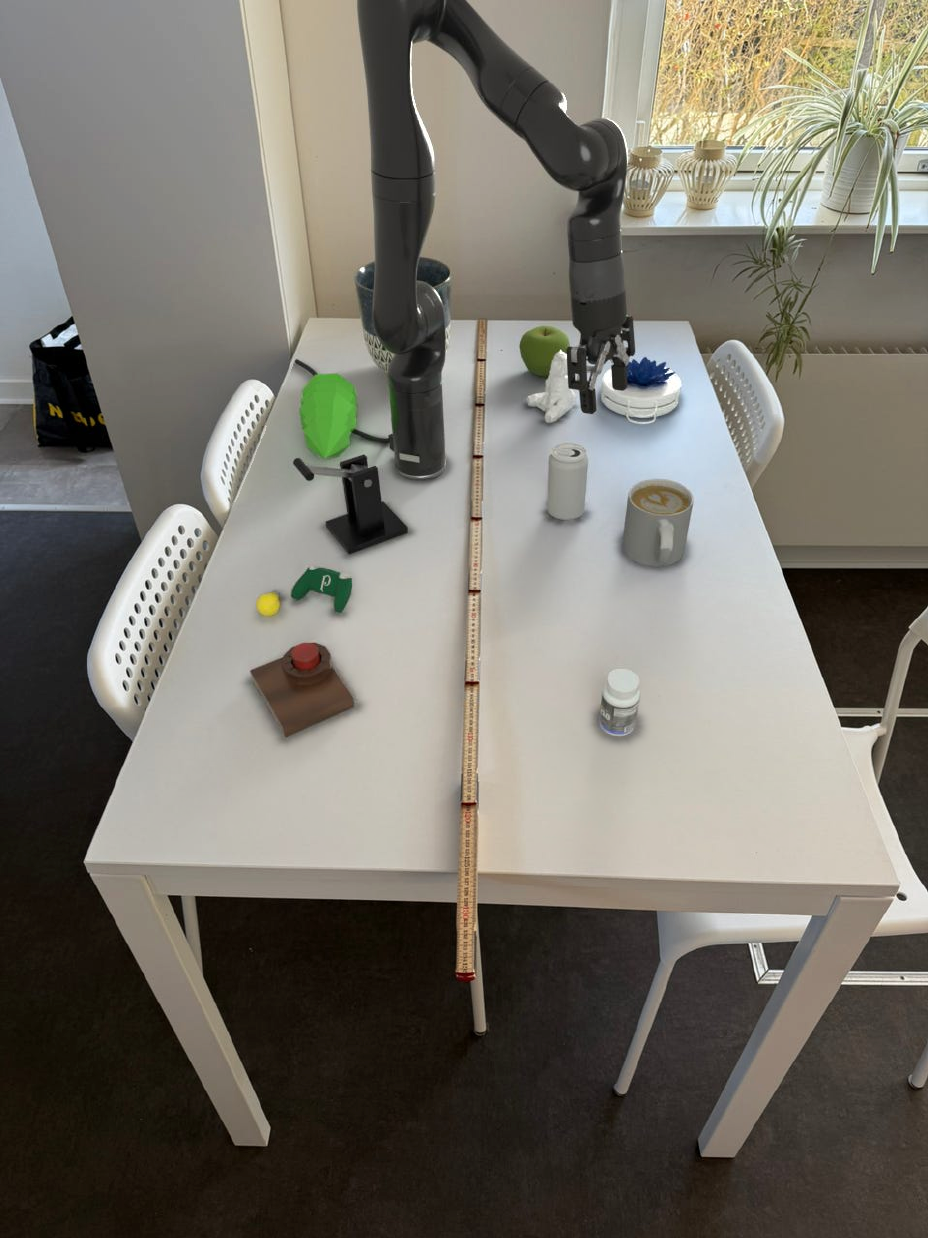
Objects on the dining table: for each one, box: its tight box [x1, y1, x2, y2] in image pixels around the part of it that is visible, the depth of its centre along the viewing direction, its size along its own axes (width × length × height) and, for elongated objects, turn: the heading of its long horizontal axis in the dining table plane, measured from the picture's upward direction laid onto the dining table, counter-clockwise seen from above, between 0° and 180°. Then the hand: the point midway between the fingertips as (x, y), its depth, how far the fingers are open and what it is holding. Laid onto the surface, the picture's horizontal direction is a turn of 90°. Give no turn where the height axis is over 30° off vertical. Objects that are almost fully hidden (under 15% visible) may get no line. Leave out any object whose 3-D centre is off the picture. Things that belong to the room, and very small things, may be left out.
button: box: [291, 642, 320, 670], centre depth 117 cm, size 4×4×2 cm
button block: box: [249, 642, 355, 738], centre depth 117 cm, size 12×10×4 cm
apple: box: [519, 325, 571, 378], centre depth 182 cm, size 11×10×10 cm
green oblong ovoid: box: [298, 372, 358, 460], centre depth 162 cm, size 11×12×30 cm
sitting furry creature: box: [526, 350, 577, 424], centre depth 169 cm, size 10×9×12 cm
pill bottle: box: [598, 668, 641, 737], centre depth 110 cm, size 5×5×8 cm
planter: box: [353, 256, 453, 374], centre depth 179 cm, size 20×20×21 cm
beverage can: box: [546, 442, 589, 521], centre depth 143 cm, size 6×6×12 cm
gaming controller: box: [290, 563, 353, 614], centre depth 132 cm, size 9×4×6 cm
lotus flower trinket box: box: [600, 356, 682, 425], centre depth 172 cm, size 7×16×20 cm
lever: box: [292, 457, 369, 482], centre depth 135 cm, size 12×5×2 cm, turn 121°
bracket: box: [325, 454, 409, 555], centre depth 141 cm, size 11×9×13 cm
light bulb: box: [255, 589, 281, 617], centre depth 130 cm, size 3×6×4 cm, turn 175°
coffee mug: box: [621, 478, 694, 568], centre depth 135 cm, size 13×10×10 cm
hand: (604, 400), depth 127 cm, fingers open, 8 cm apart
